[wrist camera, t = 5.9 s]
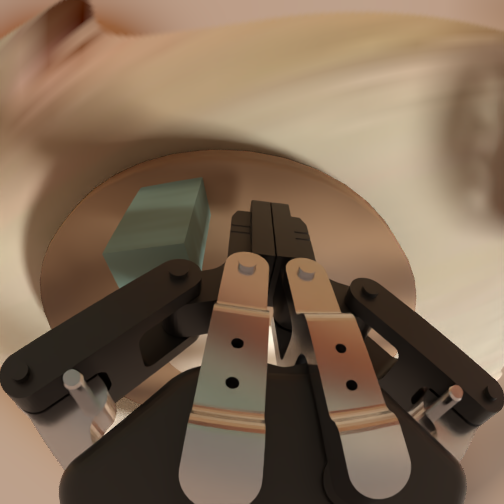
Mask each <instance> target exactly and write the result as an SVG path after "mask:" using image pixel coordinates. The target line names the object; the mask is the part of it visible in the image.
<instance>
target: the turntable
mask: <svg viewBox="0 0 504 504" xmlns="http://www.w3.org/2000/svg"><path fill="white" fill-rule="evenodd" d="M252 200H257V201H265V202H274V203H282V204H288V205H289V208H290V213H291V217H298V218H300V219H301V220H302V221H303V222H304V223H305V224H306V225H307V229H308V232H309V236H310V241H311V244H312V248H313V252H314V256H315V260H316V262H317V263H319V264H320V265H322V266H323V267H324V269H325V270H326V272H327V275H328V278H329V279H331V280H333V281H336V282H338V283H341V284H344V285H347V286H350V284H351V282H352V281H353V280H354V279H357V278H368V279H372V280H374V281H376V282H378V283H379V284H380V285H382V286H383V287H384V288H386V289H387V290H388V291H389V292H391V293H392V294H393V295H395V296H396V297H397V298H398V299H400V300H401V301H402V302H403V303H405V304H406V305H407V306H408V307H410V308H411V309H412V310H413V311H415V305H416V289H415V280H414V276H413V273H412V270H411V267H410V264H409V261H408V259H407V257H406V255H405V253H404V251H403V250H402V248H401V246H400V245H399V243H398V241H397V240H396V238H395V236H394V235H393V233H392V232H391V230H390V228H389V227H388V225H387V224H386V222H385V221H384V220H383V218H382V217H381V216H380V215H379V214H378V213H377V212H376V211H375V209H374V208H373V207H372V206H371V205H370V204H369V203H368V202H367V201H366V200H364V199H363V198H362V197H361V196H359V195H358V194H357V193H356V192H354V191H353V190H352V189H350V188H349V187H348V186H346V185H345V184H343V183H341V182H340V181H338V180H336V179H334V178H332V177H330V176H329V175H327V174H325V173H323V172H321V171H319V170H317V169H314V168H312V167H309V166H306V165H303V164H301V163H298V162H295V161H292V160H289V159H286V158H282V157H277V156H272V155H267V154H262V153H257V152H251V151H238V150H201V151H192V152H183V153H175V154H171V155H167V156H163V157H160V158H156V159H152V160H149V161H145V162H142V163H140V164H138V165H135V166H133V167H131V168H129V169H126V170H124V171H122V172H120V173H118V174H116V175H114V176H112V177H111V178H110V179H108V180H107V181H105V182H104V183H102V184H101V185H99V186H98V187H96V188H95V189H93V190H92V191H91V192H90V193H89V194H88V195H87V196H86V197H85V198H84V199H83V200H82V201H81V202H80V203H79V204H78V205H77V206H76V207H75V208H74V210H73V211H72V212H71V213H70V215H69V216H68V217H67V218H66V220H65V221H64V222H63V223H62V225H61V226H60V228H59V229H58V231H57V232H56V234H55V236H54V237H53V239H52V240H51V242H50V244H49V246H48V249H47V252H46V254H45V257H44V260H43V264H42V270H41V277H40V287H41V299H42V303H43V308H44V312H45V315H46V317H47V320H48V322H49V325H50V327H51V329H53V328H55V327H56V326H58V325H60V324H61V323H63V322H64V321H66V320H68V319H69V318H71V317H73V316H74V315H76V314H78V313H79V312H81V311H82V310H84V309H86V308H87V307H89V306H91V305H92V304H94V303H96V302H97V301H99V300H101V299H102V298H104V297H106V296H107V295H109V294H111V293H113V292H114V291H116V290H118V289H119V288H121V287H123V286H124V285H126V284H128V283H130V282H131V281H133V280H135V279H136V278H138V277H140V276H142V275H143V274H145V273H147V272H149V271H150V270H152V269H154V268H155V267H157V266H159V265H161V264H162V263H164V262H166V261H169V260H173V259H185V260H189V261H192V262H194V263H195V264H197V265H198V266H199V267H200V269H201V271H203V270H210V269H214V268H217V267H219V266H221V265H222V264H224V263H225V261H226V259H227V256H228V245H229V236H230V228H231V219H232V216H233V215H234V214H235V213H236V212H237V211H238V210H239V211H248V212H250V206H251V201H252ZM267 310H268V311H269V313H270V319H269V340H268V360H267V363H269V364H273V365H276V366H277V362H276V356H275V349H274V342H273V336H272V329H271V320H272V316H273V307H267ZM207 335H208V334H203V335H199V338H198V339H197V340H196V341H195V342H194V343H193V344H192V345H190V346H189V347H188V348H186V349H185V350H184V351H183V352H181V353H180V354H179V355H177V356H176V357H175V358H174V359H172V360H171V361H170V362H168V363H167V364H166V365H165V366H163V367H162V368H161V369H159V370H158V371H157V372H155V373H154V374H153V375H152V376H150V377H149V378H148V379H146V380H145V381H144V382H142V383H141V384H140V385H138V386H137V387H136V388H134V389H133V390H132V391H130V392H129V393H128V394H126V395H125V396H124V397H126V398H128V399H130V400H132V401H134V402H137V403H139V404H143V403H144V402H145V401H146V400H147V399H149V398H150V397H151V396H152V395H153V394H154V393H156V392H157V391H158V390H159V389H160V388H161V387H163V386H164V385H165V384H166V383H167V382H168V381H170V380H171V379H172V378H174V377H175V376H177V375H178V374H180V373H182V372H184V371H186V370H188V369H191V368H194V367H198V366H201V364H202V359H203V354H204V349H205V344H206V340H207ZM368 336H369V337H370V338H371V339H372V340H374V341H375V342H376V343H377V344H378V345H379V346H381V347H382V348H383V349H384V350H385V351H386V352H387V353H389V354H390V355H391V356H392V357H394V356H395V355H396V353H397V352H398V351H397V350H396V348H395V347H393V346H392V345H391V344H390V343H389V342H388V341H386V340H385V339H384V338H383V337H382V336H381V335H379V334H378V333H377V332H376V331H375V330H374V329H371V331H370V332H369V334H368Z"/></svg>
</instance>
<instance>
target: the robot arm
mask: <svg viewBox="0 0 504 504" xmlns="http://www.w3.org/2000/svg"><path fill="white" fill-rule="evenodd" d="M267 307H273V316H272V320H271V329H272V336H273V342H274V349H275V356H276V362H277V366H276V365H273V364H269V363H267V360H268V340H269V319H270V313H269V311H268V310H267ZM371 329H374V330H375V331H376V332H377V333H378V334H379V335H381V336H382V337H383V338H384V339H385V340H386V341H388V342H389V343H390V344H391V345H392V346H393V347H395V348H396V350H397V351H398V354H399V358H398V359H397V358H394V357H392V356H391V355H390V354H389V353H387V352H386V351H385V350H384V349H383V348H382V347H381V346H379V345H378V344H377V343H376V342H375V341H374V340H372V339H371V338H370V337H369V336H368V334H369V332H370V331H371ZM203 334H208V335H207V340H206V344H205V349H204V354H203V359H202V364H201V366H198V367H194V368H191V369H188V370H186V371H184V372H182V373H180V374H178V375H177V376H175V377H174V378H172V379H171V380H170V381H168V382H167V383H166V384H165V385H164V386H163V387H161V388H160V389H159V390H158V391H157V392H156V393H154V394H153V395H152V396H151V397H150V398H149V399H147V400H146V401H145V402H144V403H143V404H141V405H140V406H139V407H138V408H137V409H136V410H134V411H133V412H132V413H131V414H130V415H128V416H127V417H126V418H125V419H123V420H122V421H121V422H120V423H119V424H117V425H116V426H115V427H114V428H113V429H111V430H110V431H109V432H108V433H106V434H105V435H104V433H105V432H106V430H107V429H108V428H109V427H110V426H111V425H112V424H113V422H114V420H115V418H116V412H117V410H116V405H115V403H116V402H117V401H118V400H120V399H121V398H122V397H124V396H125V395H126V394H128V393H129V392H130V391H132V390H133V389H134V388H136V387H137V386H138V385H140V384H141V383H142V382H144V381H145V380H146V379H148V378H149V377H150V376H152V375H153V374H154V373H155V372H157V371H158V370H159V369H161V368H162V367H163V366H165V365H166V364H167V363H168V362H170V361H171V360H172V359H174V358H175V357H176V356H177V355H179V354H180V353H181V352H183V351H184V350H185V349H186V348H188V347H189V346H190V345H192V344H193V343H194V342H195V341H196V340H197V339H198V338H199V335H203ZM0 383H1V386H2V388H3V390H4V391H5V392H6V393H7V394H8V395H9V396H10V397H11V398H12V400H13V401H14V402H15V403H16V405H17V406H18V407H19V408H20V409H21V410H22V411H23V412H24V413H25V414H26V415H27V416H28V417H29V418H30V419H31V421H32V422H33V424H34V426H35V427H36V429H37V431H38V432H39V434H40V435H41V437H42V439H43V440H44V442H45V443H46V445H47V446H48V448H49V449H50V451H51V452H52V454H53V455H54V456H55V458H56V459H57V461H58V462H59V463H60V464H61V466H62V468H63V469H64V470H65V471H64V473H63V475H62V478H61V481H60V486H59V499H60V504H464V500H465V495H466V487H467V486H466V477H465V473H464V470H463V468H462V466H461V464H460V461H461V460H462V458H463V456H464V454H465V452H466V451H467V449H468V447H469V445H470V443H471V441H472V439H473V437H474V435H475V433H476V431H477V429H478V427H479V426H480V425H482V424H483V423H484V422H486V421H487V420H488V419H490V418H491V417H492V416H494V415H495V414H496V413H498V412H499V411H500V410H501V409H502V407H503V405H504V393H503V390H502V388H501V386H500V385H499V383H498V382H497V381H496V380H495V379H494V378H493V377H491V376H490V375H489V374H488V373H487V372H486V371H485V370H484V369H482V368H481V367H480V366H479V365H478V364H477V363H476V362H474V361H473V360H472V359H471V358H470V357H469V356H468V355H466V354H465V353H464V352H463V351H462V350H461V349H459V348H458V347H457V346H456V345H455V344H453V343H452V342H451V341H450V340H449V339H448V338H446V337H445V336H444V335H443V334H442V333H440V332H439V331H438V330H437V329H436V328H434V327H433V326H432V325H431V324H429V323H428V322H427V321H426V320H425V319H423V318H422V317H421V316H420V315H418V314H417V313H416V312H415V311H413V310H412V309H411V308H410V307H408V306H407V305H406V304H405V303H403V302H402V301H401V300H400V299H398V298H397V297H396V296H395V295H393V294H392V293H391V292H389V291H388V290H387V289H386V288H384V287H383V286H382V285H380V284H379V283H378V282H376V281H374V280H372V279H368V278H357V279H354V280H353V281H352V282H351V284H350V286H347V285H344V284H341V283H338V282H336V281H333V280H331V279H329V278H328V275H327V272H326V270H325V269H324V267H323V266H322V265H320V264H319V263H317V262H316V260H315V256H314V252H313V248H312V244H311V241H310V236H309V232H308V229H307V225H306V224H305V223H304V222H303V221H302V220H301V219H300V218H298V217H291V213H290V208H289V205H288V204H282V203H274V202H265V201H257V200H252V201H251V206H250V212H248V211H239V210H238V211H237V212H236V213H235V214H234V215H233V216H232V219H231V228H230V236H229V245H228V256H227V259H226V261H225V263H224V264H222V265H221V266H219V267H217V268H214V269H210V270H203V271H201V269H200V267H199V266H198V265H197V264H195V263H194V262H192V261H189V260H185V259H173V260H169V261H166V262H164V263H162V264H161V265H159V266H157V267H155V268H154V269H152V270H150V271H149V272H147V273H145V274H143V275H142V276H140V277H138V278H136V279H135V280H133V281H131V282H130V283H128V284H126V285H124V286H123V287H121V288H119V289H118V290H116V291H114V292H113V293H111V294H109V295H107V296H106V297H104V298H102V299H101V300H99V301H97V302H96V303H94V304H92V305H91V306H89V307H87V308H86V309H84V310H82V311H81V312H79V313H78V314H76V315H74V316H73V317H71V318H69V319H68V320H66V321H64V322H63V323H61V324H60V325H58V326H56V327H55V328H53V329H52V330H50V331H48V332H47V333H45V334H43V335H42V336H40V337H39V338H37V339H36V340H34V341H32V342H31V343H29V344H28V345H26V346H25V347H23V348H21V349H20V350H18V351H17V352H15V353H14V354H12V355H11V356H9V357H8V358H7V359H6V360H5V362H4V363H3V365H2V367H1V370H0ZM103 435H104V436H103Z"/></svg>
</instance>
